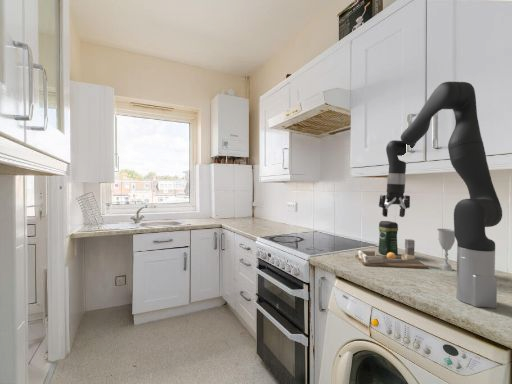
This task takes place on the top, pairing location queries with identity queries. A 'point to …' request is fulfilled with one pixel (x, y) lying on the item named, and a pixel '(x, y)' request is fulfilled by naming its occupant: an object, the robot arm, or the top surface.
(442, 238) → the chalice
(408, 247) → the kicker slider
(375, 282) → the top surface
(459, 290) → the robot arm
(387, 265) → the board
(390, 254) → the ball
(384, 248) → the coffee jar
